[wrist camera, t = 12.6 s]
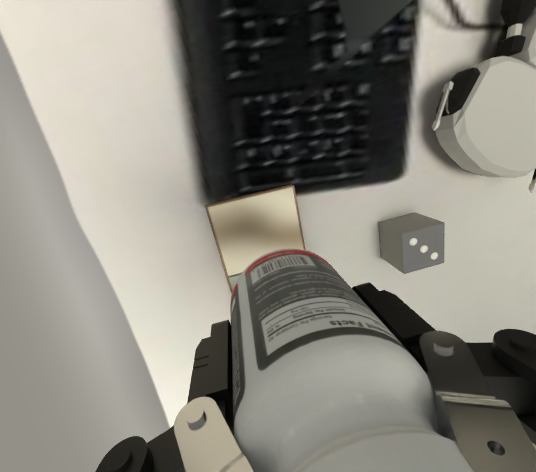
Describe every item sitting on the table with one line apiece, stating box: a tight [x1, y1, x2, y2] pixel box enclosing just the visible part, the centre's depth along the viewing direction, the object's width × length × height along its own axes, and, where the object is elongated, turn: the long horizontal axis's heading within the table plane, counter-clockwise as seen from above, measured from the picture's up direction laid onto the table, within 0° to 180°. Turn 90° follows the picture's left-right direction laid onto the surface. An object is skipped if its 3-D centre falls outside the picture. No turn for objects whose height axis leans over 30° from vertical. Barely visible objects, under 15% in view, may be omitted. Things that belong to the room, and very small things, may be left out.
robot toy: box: [432, 0, 536, 193], centre depth 22 cm, size 12×4×15 cm
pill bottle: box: [231, 249, 474, 472], centre depth 9 cm, size 6×6×10 cm
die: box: [378, 213, 444, 274], centre depth 26 cm, size 4×4×4 cm
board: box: [205, 184, 305, 293], centre depth 27 cm, size 21×8×1 cm, turn 12°
